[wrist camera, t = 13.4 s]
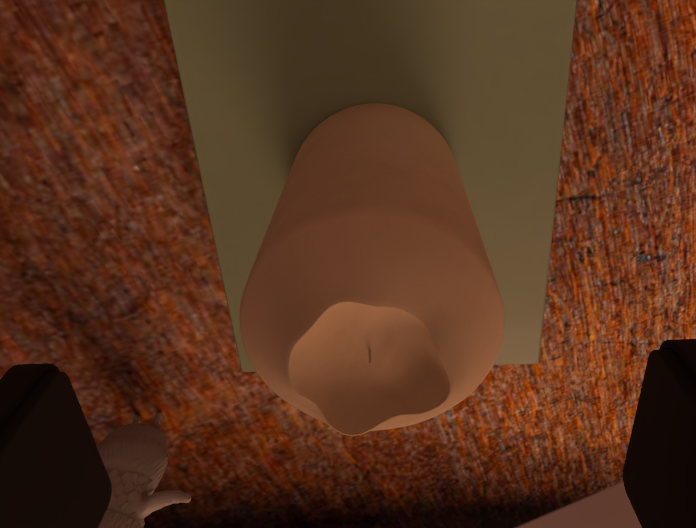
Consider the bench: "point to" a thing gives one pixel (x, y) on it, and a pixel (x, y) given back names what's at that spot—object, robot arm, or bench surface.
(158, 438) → the figurine
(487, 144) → the shelf
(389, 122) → the candle
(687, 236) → the bench surface
